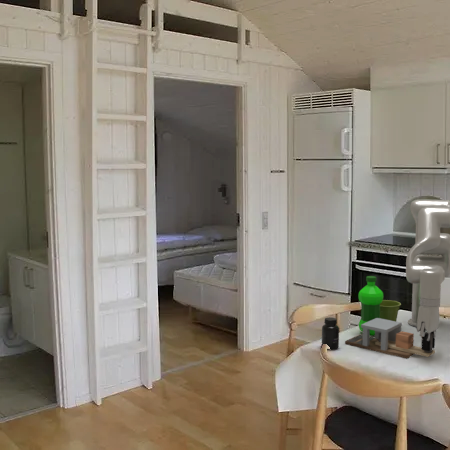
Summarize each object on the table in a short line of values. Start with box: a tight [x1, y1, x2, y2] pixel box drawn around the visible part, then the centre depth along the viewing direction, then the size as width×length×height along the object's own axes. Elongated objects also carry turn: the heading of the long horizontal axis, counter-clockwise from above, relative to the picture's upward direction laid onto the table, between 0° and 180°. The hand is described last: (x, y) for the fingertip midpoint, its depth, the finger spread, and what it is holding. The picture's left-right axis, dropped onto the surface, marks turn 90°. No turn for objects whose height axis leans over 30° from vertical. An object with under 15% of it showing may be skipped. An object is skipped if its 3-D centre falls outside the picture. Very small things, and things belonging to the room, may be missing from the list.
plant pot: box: [380, 299, 402, 322], centre depth 266 cm, size 12×12×11 cm
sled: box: [375, 330, 436, 358], centre depth 233 cm, size 6×22×8 cm, turn 47°
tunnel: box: [361, 318, 403, 351], centre depth 239 cm, size 13×11×8 cm
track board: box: [344, 334, 415, 360], centre depth 240 cm, size 12×27×1 cm, turn 48°
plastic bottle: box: [358, 275, 384, 337], centre depth 256 cm, size 10×10×25 cm
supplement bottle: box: [321, 316, 340, 351], centre depth 239 cm, size 7×7×12 cm
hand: (428, 348), depth 227 cm, fingers open, 3 cm apart
